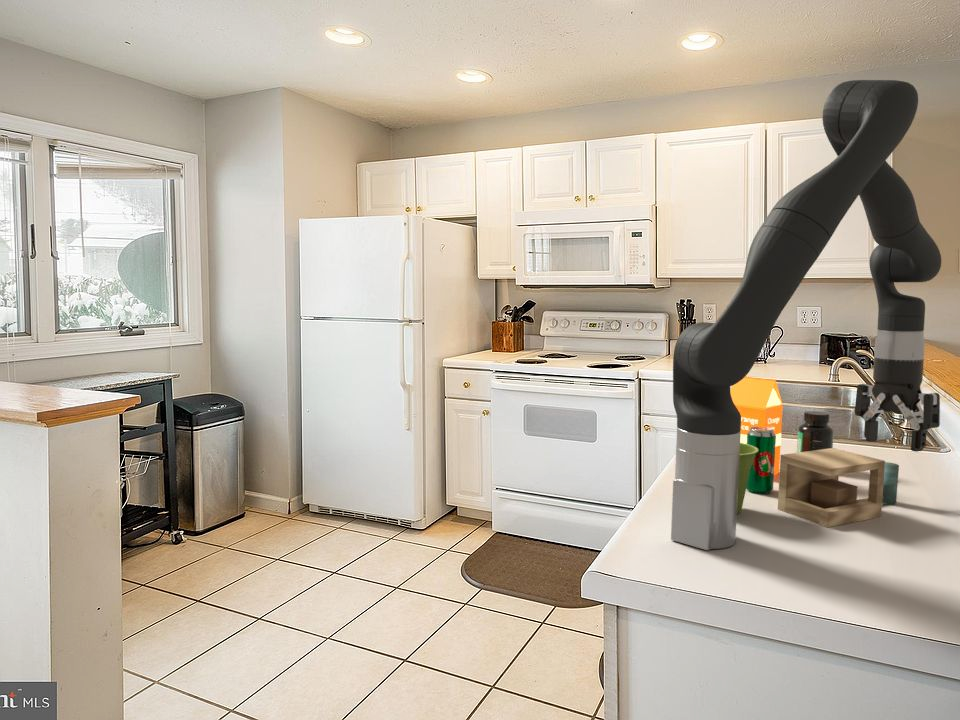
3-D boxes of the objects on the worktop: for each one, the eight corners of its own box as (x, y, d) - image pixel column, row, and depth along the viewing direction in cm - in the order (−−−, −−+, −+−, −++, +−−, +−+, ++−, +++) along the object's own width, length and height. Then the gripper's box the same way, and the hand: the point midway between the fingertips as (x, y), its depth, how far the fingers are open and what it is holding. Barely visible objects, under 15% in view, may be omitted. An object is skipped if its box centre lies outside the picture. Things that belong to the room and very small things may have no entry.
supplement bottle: (793, 469, 147) (797, 413, 146) (798, 462, 153) (801, 409, 152) (829, 473, 144) (833, 417, 142) (832, 466, 150) (836, 412, 148)
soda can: (749, 485, 135) (752, 425, 134) (776, 490, 132) (779, 428, 131) (740, 491, 131) (743, 429, 130) (768, 496, 128) (771, 432, 127)
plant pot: (767, 509, 121) (770, 446, 119) (735, 526, 112) (739, 458, 111) (704, 494, 129) (706, 435, 128) (670, 509, 121) (673, 445, 119)
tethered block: (835, 518, 116) (837, 478, 115) (810, 509, 121) (812, 470, 120) (905, 504, 124) (908, 466, 123) (879, 497, 128) (881, 460, 127)
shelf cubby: (827, 527, 112) (830, 468, 111) (777, 509, 121) (780, 454, 120) (881, 516, 117) (885, 460, 116) (829, 499, 126) (833, 447, 125)
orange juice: (761, 479, 139) (766, 381, 137) (721, 470, 146) (725, 377, 144) (779, 473, 144) (784, 378, 142) (740, 464, 151) (744, 373, 149)
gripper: (953, 358, 117) (947, 452, 119) (875, 351, 130) (871, 436, 132) (924, 361, 114) (918, 457, 116) (848, 353, 127) (843, 439, 129)
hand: (893, 445), depth 124 cm, fingers open, 8 cm apart
